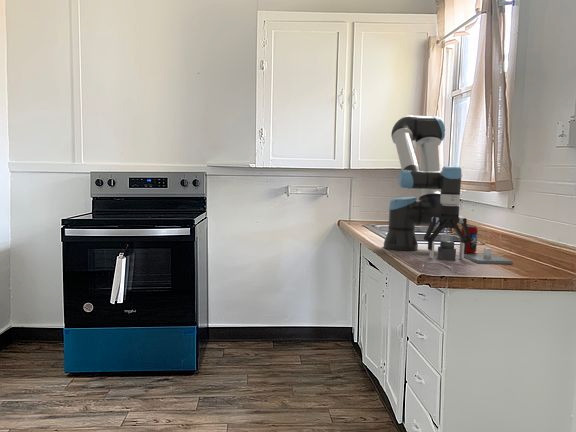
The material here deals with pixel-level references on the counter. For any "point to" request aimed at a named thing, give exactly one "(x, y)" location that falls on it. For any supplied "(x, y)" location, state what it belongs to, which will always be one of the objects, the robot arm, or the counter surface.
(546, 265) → the counter surface
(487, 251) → the hub
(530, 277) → the counter surface
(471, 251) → the beverage can
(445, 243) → the knob
